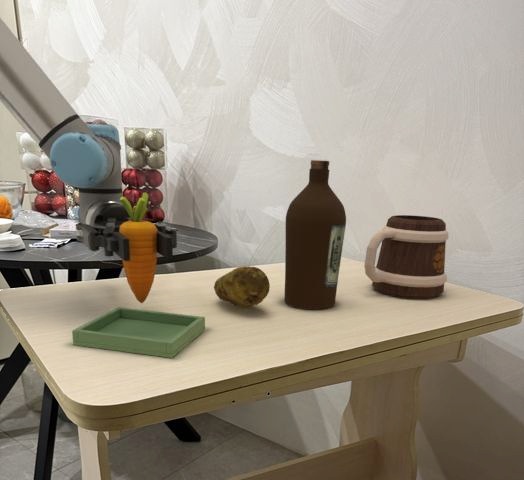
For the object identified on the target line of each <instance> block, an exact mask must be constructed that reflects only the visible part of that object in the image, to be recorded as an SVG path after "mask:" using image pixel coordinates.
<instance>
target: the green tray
mask: <svg viewBox="0 0 524 480" xmlns="http://www.w3.org/2000/svg"><path fill="white" fill-rule="evenodd" d="M204 331H206V317H205V316H199V315H191V314H182V313H174V312H173V313H172V312H166V311H165V312H164V311H156V310H146V309H138V308H130V307H129V308H128V307H121V306H120V307H119V306H118V307H116V308H113V309H111V310H110V311H107V312H106V313H103V314H102V315H99V316H98V317H96V318H94V319H92V320H90V321H88V322H86V323H84V324H82V325H79V327H76V328H74V329H72V330H71V334H72V345H73V346H80V347H87V348H95V349H102V350H109V351H117V352H125V353H132V354H138V355H147V356H155V357H163V358H168V359H173V358H174V357H175V356H176V355H177V354H178V353H180V352H181V351H182V350H183V349H184V348H186V347H187V346H188V345H189V344H190V343H191V342H193V341H194V340H195V339H196V338H197V337H198V336H200V335H201V334H202V333H203V332H204Z"/></svg>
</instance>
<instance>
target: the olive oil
mask: <svg viewBox="0 0 524 480" xmlns="http://www.w3.org/2000/svg"><path fill="white" fill-rule="evenodd" d="M329 167H330V161H329V160H317V159H316V160H315V159H312V160H310V168H309V170H308V171H309V174H308V183H307V185H306V186H305V187H304V188H303V189H302V190H301V191H300V192H299V193H298V194H297V195H296V196H295V197H294V198H293V199H292V201H290V203H289V205H288V207H287V211H286V214H285V251H284V252H285V253H284V254H285V258H284V259H285V262H284V263H285V264H284V265H285V266H284V267H285V268H284V303H285V304H286V305H288V306H290V307H293V308H296V309H301V310H312V311H313V310H317V311H318V310H326V309H327V310H328V309H331V308H333V307H335V304H336V299H337V291H338V283H339V275H340V267H341V260H342V253H343V246H344V241H345V232H346V225H347V214H346V209H345V206H344V204H343V202H342V201H341V199H339V197H338V196H337V194H336V193H335V192H334V190H333V189H332V188H331V186H330V184H329V179H330V169H329Z"/></svg>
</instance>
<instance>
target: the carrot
mask: <svg viewBox="0 0 524 480" xmlns="http://www.w3.org/2000/svg"><path fill="white" fill-rule="evenodd" d="M120 201H121V202H122V204H123V205H124V207H125V209H126V210H127V212H128V214H129V216H130V218H131V219H132V220H131V221H127V222H124V223H123V224H122V225H121V226H120V229H119V233H121V234H122V235H124V236H125V237H127V238H128V239H129V248H130V261H124V260H123V259H121V261H122V267H123V269H124V274H125V277H126V281H127V284H128V286H129V288H130V290H131V292H132V294H133V295H134V297H135V299H136V300H137V301H138V302H139V303H140V304H143V303H144V302H145V301H146V300H147V298H148V297H149V294H150V292H151V290H152V286H153V284H154V281H155V274H156V269H157V263H158V262H157V260H158V252H157V229H156V226H155V225H154V224H153V222H150V221H147V220H143V218H144V216H145V215H146V213H147V211H148V207H147V205H148V203H149V194H148V193H147V192H143V193H142V196H141V197H139V199H138V201H137V202H136V205H133V207H132V205H131V203H130V202H129V200H128V199H127V197H126V196H123V197H121V198H120ZM134 214H135V215H134Z"/></svg>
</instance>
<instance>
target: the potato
mask: <svg viewBox="0 0 524 480" xmlns="http://www.w3.org/2000/svg"><path fill="white" fill-rule="evenodd" d="M270 285H271V284H270V280H269V278H268V276H267V274H266V273H265V272H264V271H263V270H262V269H261V268H259V267H256V266H249V265H248V266H245V265H244V266H238V267H235V268H233V269H232V270H231V271H229V272H227V273H225V274H223V275H222V276H220V277H219V278H217V279H216V281H215V282H214V286H213V289H214V292H215V295H216V296H217V297H218V299H219V300H221V301H223V302H227V303H229V304H231V305H233V306H234V307H239V308H252V307H254V306H258V305H259V304H261V303H262V302H263V301H264V299H266V298H267V297H268V294H269V292H270V288H271V287H270Z"/></svg>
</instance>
